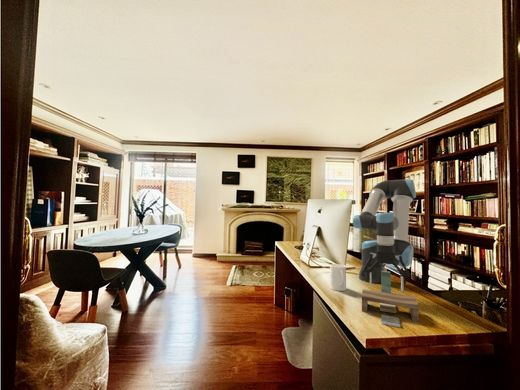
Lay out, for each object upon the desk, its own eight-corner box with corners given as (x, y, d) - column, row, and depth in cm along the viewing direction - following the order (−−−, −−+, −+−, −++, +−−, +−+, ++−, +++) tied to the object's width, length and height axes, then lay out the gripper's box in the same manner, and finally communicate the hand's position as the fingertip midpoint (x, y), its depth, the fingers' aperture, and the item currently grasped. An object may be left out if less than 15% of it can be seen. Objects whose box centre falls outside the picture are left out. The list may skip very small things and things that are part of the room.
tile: (381, 318, 95) (381, 314, 95) (398, 322, 92) (398, 317, 92) (381, 325, 89) (381, 320, 89) (400, 329, 87) (400, 324, 87)
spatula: (379, 295, 119) (378, 270, 120) (393, 297, 116) (392, 271, 117) (380, 310, 101) (379, 281, 102) (396, 313, 98) (396, 283, 99)
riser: (362, 302, 109) (362, 289, 109) (414, 311, 101) (414, 296, 101) (361, 311, 100) (361, 296, 100) (418, 321, 92) (418, 305, 92)
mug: (350, 293, 121) (350, 269, 121) (333, 293, 121) (333, 268, 122) (344, 286, 132) (343, 263, 133) (328, 285, 133) (328, 263, 134)
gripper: (357, 243, 120) (357, 286, 119) (416, 247, 109) (417, 295, 108) (358, 241, 127) (358, 282, 126) (414, 245, 116) (415, 289, 115)
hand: (386, 288), depth 117 cm, fingers open, 13 cm apart
